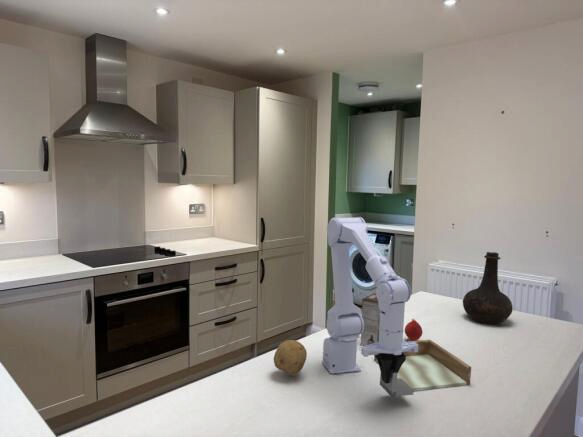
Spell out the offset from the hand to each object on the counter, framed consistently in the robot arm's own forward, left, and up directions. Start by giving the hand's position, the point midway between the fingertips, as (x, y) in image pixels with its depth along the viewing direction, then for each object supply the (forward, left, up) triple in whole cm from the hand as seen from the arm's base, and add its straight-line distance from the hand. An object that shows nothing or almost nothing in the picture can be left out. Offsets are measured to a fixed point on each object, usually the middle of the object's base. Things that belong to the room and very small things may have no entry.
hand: (388, 381), depth 100 cm
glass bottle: (+69, +47, -6) cm, 84 cm away
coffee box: (+13, +34, -6) cm, 37 cm away
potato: (-21, +18, -6) cm, 28 cm away
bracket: (+2, 0, -2) cm, 3 cm away
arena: (+16, +12, -5) cm, 21 cm away
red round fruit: (+27, +33, -6) cm, 43 cm away
